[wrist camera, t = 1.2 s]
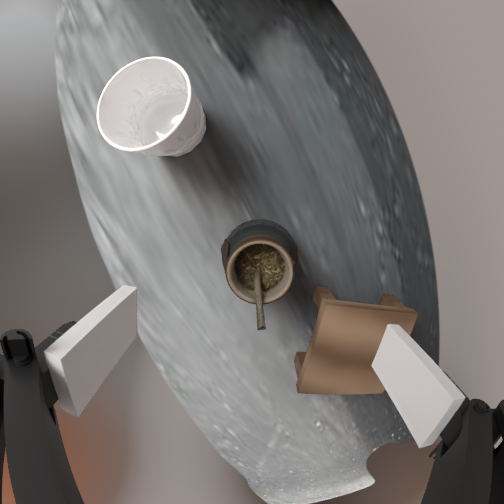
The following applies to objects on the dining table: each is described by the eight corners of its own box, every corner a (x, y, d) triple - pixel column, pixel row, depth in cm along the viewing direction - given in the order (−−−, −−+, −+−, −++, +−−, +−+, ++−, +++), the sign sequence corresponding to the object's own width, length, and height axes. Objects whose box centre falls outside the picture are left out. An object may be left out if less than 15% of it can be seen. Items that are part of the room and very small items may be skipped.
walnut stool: (313, 282, 30) (326, 304, 24) (394, 293, 30) (418, 313, 24) (291, 362, 32) (297, 393, 26) (367, 366, 33) (382, 393, 27)
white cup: (226, 114, 26) (213, 79, 16) (184, 175, 27) (150, 170, 18) (169, 83, 25) (135, 45, 15) (130, 141, 26) (80, 126, 17)
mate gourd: (286, 209, 28) (304, 222, 18) (298, 277, 30) (317, 319, 20) (218, 223, 28) (200, 243, 19) (234, 289, 30) (226, 336, 20)
